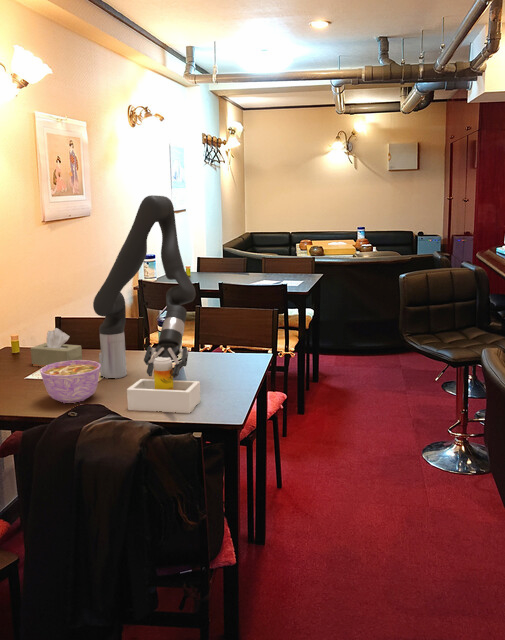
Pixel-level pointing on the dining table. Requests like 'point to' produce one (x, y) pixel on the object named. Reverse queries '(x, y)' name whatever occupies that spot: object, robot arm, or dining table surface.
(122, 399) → the dining table surface
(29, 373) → the dining table surface
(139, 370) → the dining table surface
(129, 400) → the white rectangular tray
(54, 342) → the tissue box
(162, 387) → the beer can
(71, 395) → the bowl of food
